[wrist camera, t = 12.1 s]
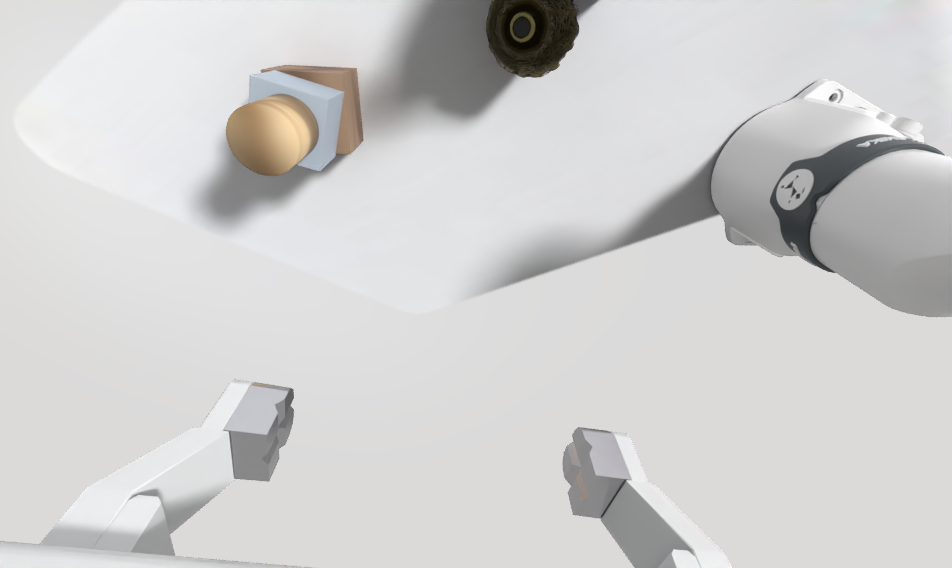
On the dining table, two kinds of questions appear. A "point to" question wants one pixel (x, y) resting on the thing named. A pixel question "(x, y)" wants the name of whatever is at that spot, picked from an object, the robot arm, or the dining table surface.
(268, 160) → the beech cylinder
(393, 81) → the dining table surface
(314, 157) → the tower top block
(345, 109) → the tower base
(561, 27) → the cup
